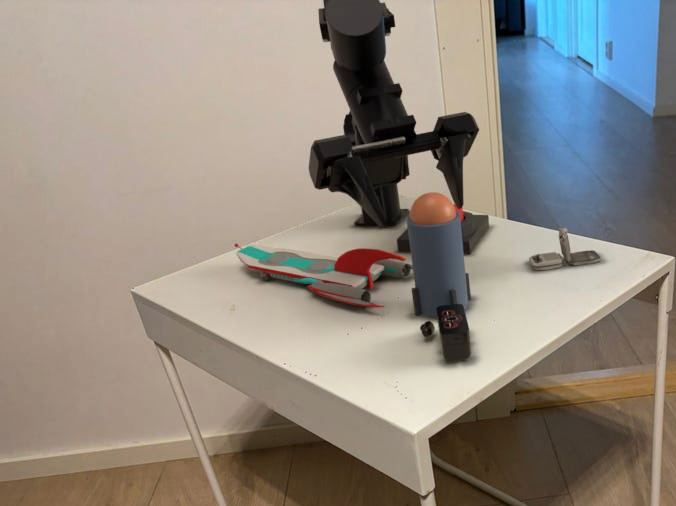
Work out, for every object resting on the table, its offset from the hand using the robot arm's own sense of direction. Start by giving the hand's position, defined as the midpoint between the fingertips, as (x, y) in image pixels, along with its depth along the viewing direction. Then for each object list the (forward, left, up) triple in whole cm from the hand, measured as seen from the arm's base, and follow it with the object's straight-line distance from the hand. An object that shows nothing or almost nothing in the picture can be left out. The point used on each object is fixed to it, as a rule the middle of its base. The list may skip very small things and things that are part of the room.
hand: (423, 216), depth 77 cm
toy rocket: (+2, +2, -10) cm, 10 cm away
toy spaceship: (-3, -16, -10) cm, 19 cm away
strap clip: (-11, +13, -10) cm, 20 cm away
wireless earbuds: (+10, +5, -10) cm, 15 cm away
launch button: (-16, -3, -7) cm, 18 cm away
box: (-18, -4, -10) cm, 21 cm away
